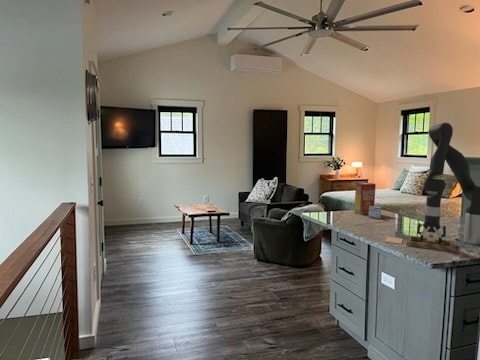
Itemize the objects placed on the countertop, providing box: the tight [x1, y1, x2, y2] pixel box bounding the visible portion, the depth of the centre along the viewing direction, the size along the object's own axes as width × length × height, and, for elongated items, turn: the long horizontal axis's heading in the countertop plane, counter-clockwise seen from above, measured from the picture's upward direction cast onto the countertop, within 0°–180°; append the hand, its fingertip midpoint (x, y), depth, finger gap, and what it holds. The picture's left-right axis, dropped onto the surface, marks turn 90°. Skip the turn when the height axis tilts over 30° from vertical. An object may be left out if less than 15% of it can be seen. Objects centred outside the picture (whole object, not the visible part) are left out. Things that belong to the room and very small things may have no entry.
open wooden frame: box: [406, 235, 457, 253], centre depth 203 cm, size 24×15×2 cm, turn 62°
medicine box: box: [368, 206, 382, 220], centre depth 278 cm, size 8×4×9 cm, turn 47°
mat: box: [384, 236, 404, 245], centre depth 212 cm, size 9×12×1 cm
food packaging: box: [353, 182, 376, 216], centre depth 295 cm, size 13×9×25 cm
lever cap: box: [425, 232, 436, 244], centre depth 203 cm, size 4×7×6 cm, turn 152°
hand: (430, 242), depth 203 cm, fingers open, 8 cm apart
